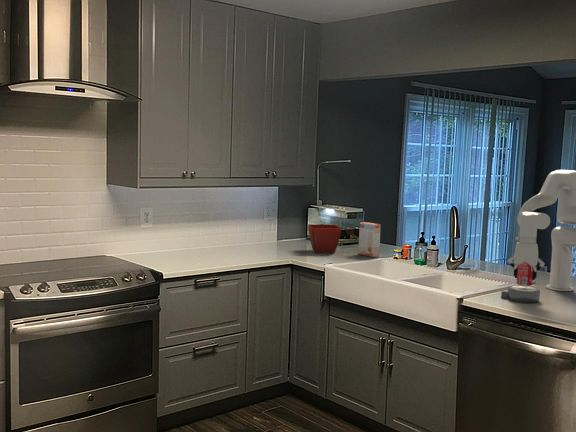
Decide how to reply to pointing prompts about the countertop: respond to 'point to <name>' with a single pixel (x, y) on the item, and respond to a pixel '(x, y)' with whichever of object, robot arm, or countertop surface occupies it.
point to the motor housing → (522, 294)
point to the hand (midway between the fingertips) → (524, 278)
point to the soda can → (524, 274)
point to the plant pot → (324, 238)
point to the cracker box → (369, 239)
